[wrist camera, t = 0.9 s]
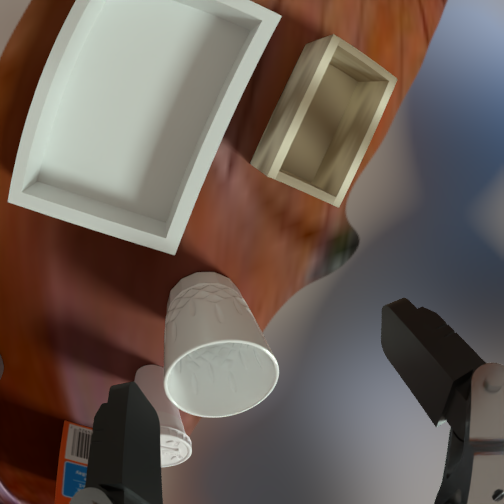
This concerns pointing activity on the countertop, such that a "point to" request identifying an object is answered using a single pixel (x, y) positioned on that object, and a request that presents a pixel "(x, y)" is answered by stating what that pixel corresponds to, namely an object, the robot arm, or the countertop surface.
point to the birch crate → (324, 119)
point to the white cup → (214, 349)
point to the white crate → (136, 112)
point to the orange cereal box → (72, 461)
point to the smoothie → (164, 416)
